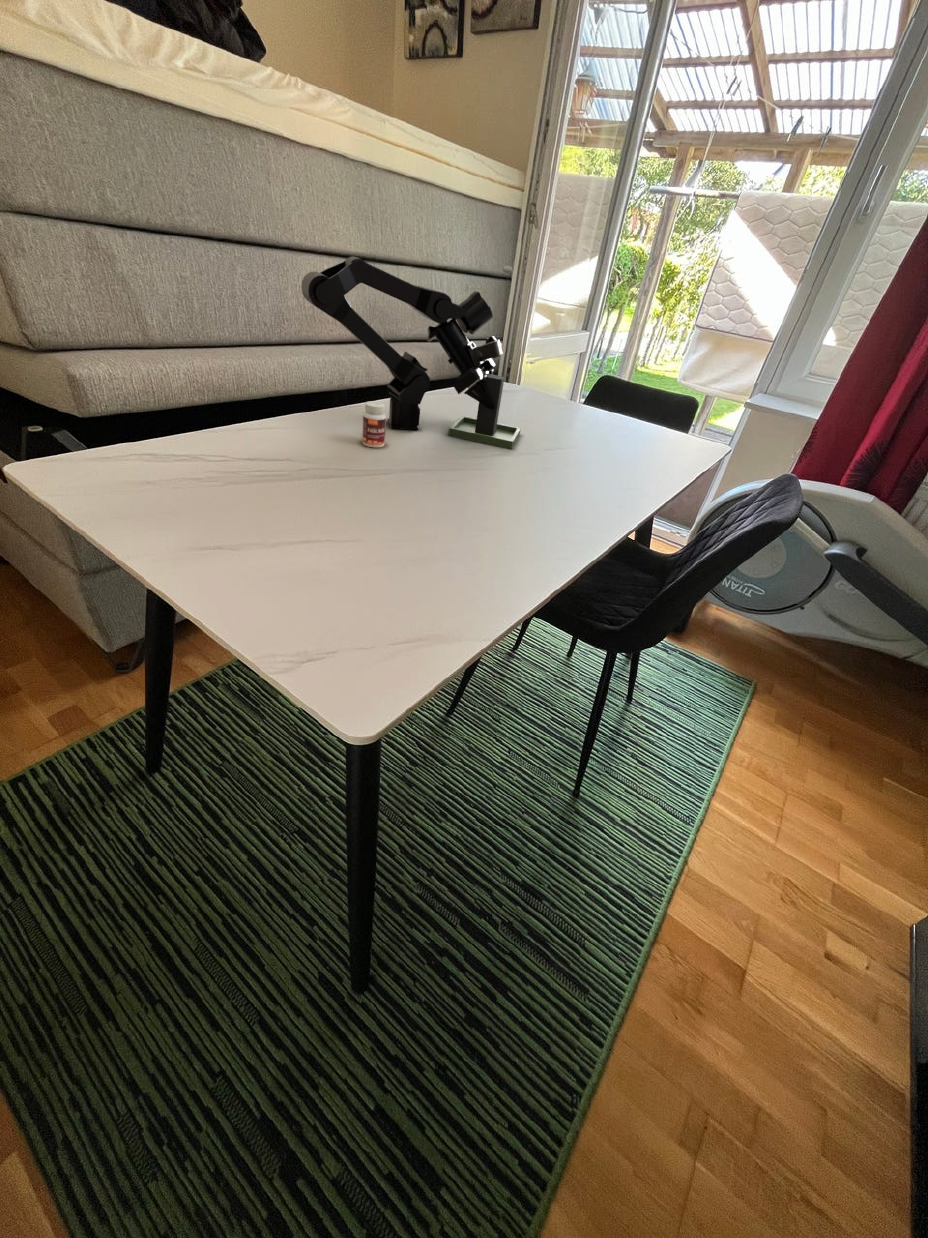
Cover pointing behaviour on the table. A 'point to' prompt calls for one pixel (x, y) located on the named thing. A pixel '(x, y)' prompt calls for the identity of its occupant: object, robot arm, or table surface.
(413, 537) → the table surface
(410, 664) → the table surface
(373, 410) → the pill bottle
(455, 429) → the shallow green tray
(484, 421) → the tall black pillar
